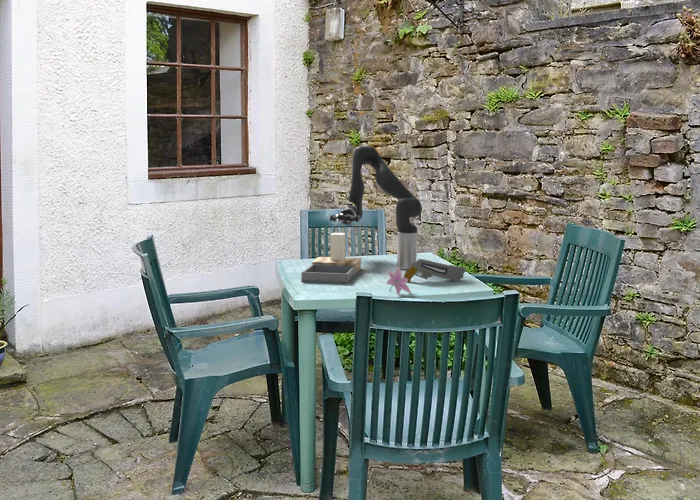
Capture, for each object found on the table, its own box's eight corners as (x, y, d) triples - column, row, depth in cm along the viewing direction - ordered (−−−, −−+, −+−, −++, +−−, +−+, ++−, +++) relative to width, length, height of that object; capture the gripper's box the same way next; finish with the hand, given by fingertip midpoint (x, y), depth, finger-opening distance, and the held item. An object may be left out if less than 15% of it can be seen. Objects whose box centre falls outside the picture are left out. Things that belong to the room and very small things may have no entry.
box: (355, 274, 337) (355, 265, 336) (347, 283, 316) (348, 274, 315) (311, 272, 340) (312, 264, 339) (301, 281, 319) (301, 272, 318)
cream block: (345, 258, 350) (345, 233, 349) (343, 260, 344) (343, 234, 343) (332, 258, 351) (332, 232, 350) (330, 260, 345) (330, 234, 344)
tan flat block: (360, 268, 353) (361, 258, 352) (355, 274, 337) (355, 263, 336) (319, 267, 356) (319, 256, 355) (312, 272, 340) (312, 261, 340)
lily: (381, 298, 292) (391, 278, 289) (374, 281, 302) (384, 262, 298) (407, 305, 297) (418, 286, 293) (400, 288, 307) (410, 270, 303)
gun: (453, 301, 325) (467, 269, 324) (402, 281, 320) (416, 248, 319) (451, 299, 328) (465, 268, 327) (401, 279, 323) (414, 247, 322)
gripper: (333, 208, 373) (327, 211, 357) (362, 209, 371) (357, 212, 355) (333, 223, 374) (327, 227, 358) (361, 224, 372) (357, 228, 356)
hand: (342, 219), depth 357 cm, fingers open, 7 cm apart
